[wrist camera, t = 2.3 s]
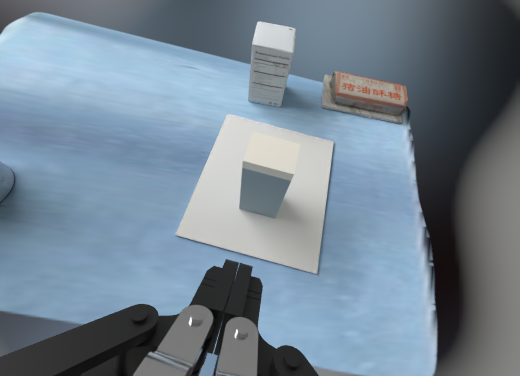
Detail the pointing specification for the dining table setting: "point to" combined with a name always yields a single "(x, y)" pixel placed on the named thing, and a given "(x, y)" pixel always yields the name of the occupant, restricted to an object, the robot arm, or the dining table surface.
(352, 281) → the dining table surface
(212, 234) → the mat
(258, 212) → the block
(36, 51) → the dining table surface
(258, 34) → the supplement box
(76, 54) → the dining table surface
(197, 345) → the robot arm
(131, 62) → the dining table surface
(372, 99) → the packaged product
